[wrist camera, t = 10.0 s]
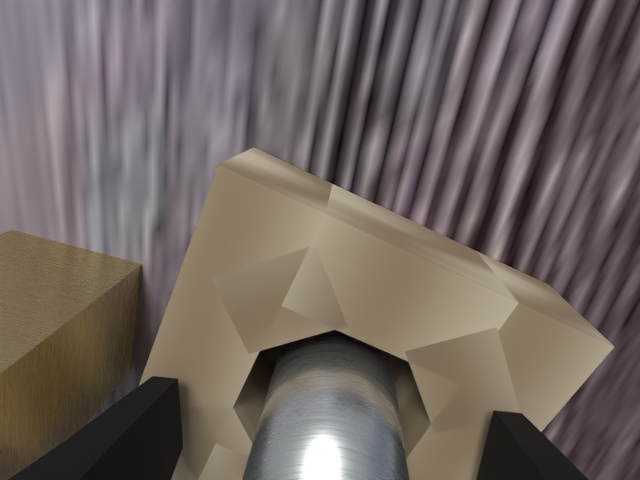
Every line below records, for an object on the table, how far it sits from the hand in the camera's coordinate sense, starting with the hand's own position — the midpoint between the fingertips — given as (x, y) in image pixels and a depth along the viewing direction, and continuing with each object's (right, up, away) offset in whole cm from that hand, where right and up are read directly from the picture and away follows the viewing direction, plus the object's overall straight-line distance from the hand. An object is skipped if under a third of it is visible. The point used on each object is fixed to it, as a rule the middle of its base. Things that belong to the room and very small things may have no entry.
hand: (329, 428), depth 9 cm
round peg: (0, +1, +3) cm, 3 cm away
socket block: (0, +1, +3) cm, 3 cm away
